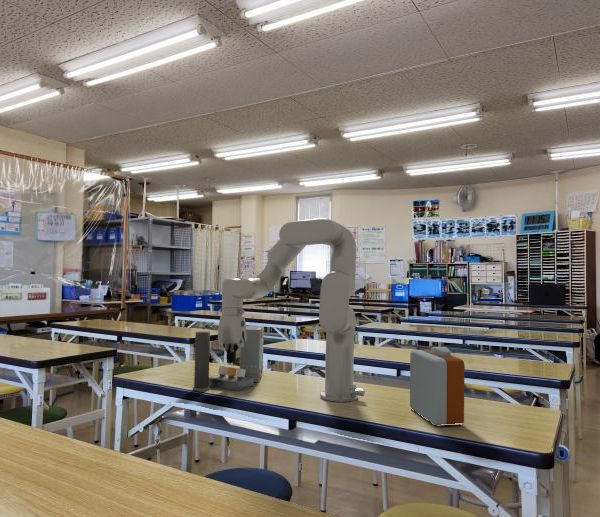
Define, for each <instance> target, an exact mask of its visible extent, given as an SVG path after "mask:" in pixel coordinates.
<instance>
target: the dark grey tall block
mask: <svg viewBox="0 0 600 517" xmlns="http://www.w3.org/2000/svg"><path fill="white" fill-rule="evenodd" d="M210 337H211V332H210V331H196V332H195V338H194V340H195V341H194V342H195V344H194V382H193V383H194V384H193V387H192V389H194V390H193V391H195V390H197V391H196V392H206V391H209V390H210V386H209V377H210V348H211V347H210V346H211V344H210V342H211V341H210Z"/></svg>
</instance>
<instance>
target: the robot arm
mask: <svg viewBox="0 0 600 517" xmlns="http://www.w3.org/2000/svg"><path fill="white" fill-rule="evenodd" d="M278 236H279V240H277V241H276V243H275V244H274V245H273V246H272V247H271V248H270V250H269V251H268V252H267V263H266V265H265V267H264V268H263V270H261V271H260V273H259V274H258V275H257V276H256V277H253V278H251V277H249V278H242V279H241V278H233V277H232V278H224V279H223V280H222V290H221V291H222V292H221V293H222V294H221V295H222V296H221V315H220V317H219V321H218V322H219V323H218V327H217V328H218V330H217V340H218V345H219V346H221V347H223V348H224V350H225V352H226V363H227V364H233V363H236V360H237V359H236V357H237V352H238V350H240V348H241V347H244V343H245V342H246V326H247V323H246V319H245V316H244V315H243V314H245V313H246V310H245V309H244V308H243V306H244V304H243V302H244V301H243V300H256V299H262V298H264V297H265V296H267V295H268V294H269V293H270V292H271V291H272V289H273V288H274V287H275V286H276V285H277V284H278V282H280V280H281V277H283V274H284V273H285V271H286V270H287V268H288V266H290V264H291V263H292V262H293V261H294V259H295V258H296V257H297V256H298V255H299V254H300V253H301V252H302V251H303V250H304V249H305V247H307V246H311V245H312V246H313V245H325V246H329V247H330V248H331V257H330V270H329V271H330V272H329V273H327V274H326V275H325V276H324V277H323V279H322V281H321V285H320V292H319V310H318V311H319V312H318V321H319V325H320V327H321V329H322V330H323V331H324V332H325V333H326V337H325V362H324V363H325V364H324V365H325V366H324V368H325V371H324V373H325V374H324V390H323V391H321V392H320V396H319V397H320V398H321V399H322V400H325V401H329V402H338V403H341V402H342V403H344V402H345V403H346V402H347V403H348V402H353V401H357V400H358V398H359V397H364V396H365V392H366V391H365V390H364V388H358V387H357V383H354V369H355V368H354V364H355V363H354V360H355V356H354V355H355V354H354V352H355V334H356V332H355V331H356V325H357V323H356V322H357V320H356V319H357V318H356V314H355V310H354V309H353V308H352V307H351V306H350V304H349V303H350V297H351V296H353V295H354V293H355V290H356V270H357V269H356V267H357V263H356V262H357V242H356V240H355V236H354V235H353V234H352V232H351V231H350V230H349V228H347V227H346V226H344V225H343V224H341V223H339V222H337V221H334V220H332V219H330V218H325V217H319V218H313V219H312V218H311V219H303V220H301V219H300V220H292V221H288V222H286V223H284V224H282V226H281V228H280V230H279V232H278Z"/></svg>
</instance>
